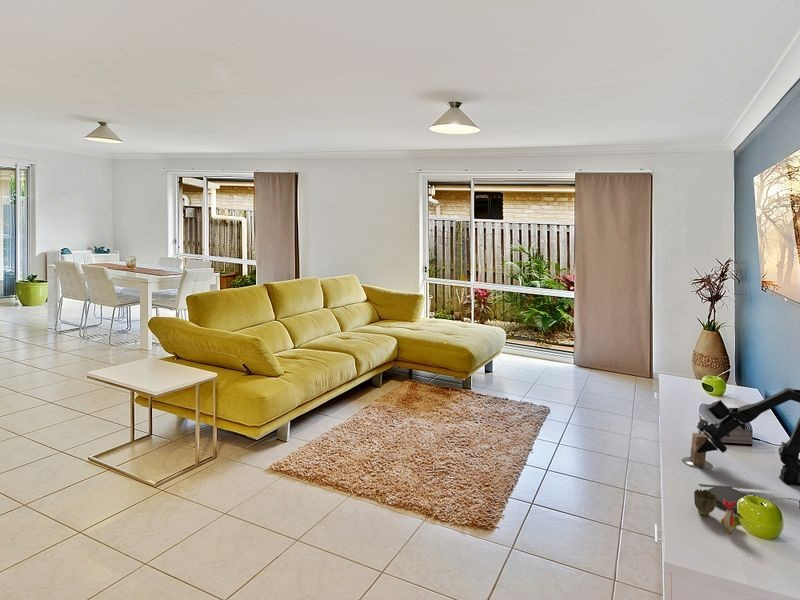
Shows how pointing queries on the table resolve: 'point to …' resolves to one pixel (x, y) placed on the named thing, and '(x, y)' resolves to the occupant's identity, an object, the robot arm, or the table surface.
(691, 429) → the table surface
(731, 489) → the media streaming box
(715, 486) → the rubber mat
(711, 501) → the cup
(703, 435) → the walnut block
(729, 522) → the bird rattle
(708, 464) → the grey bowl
